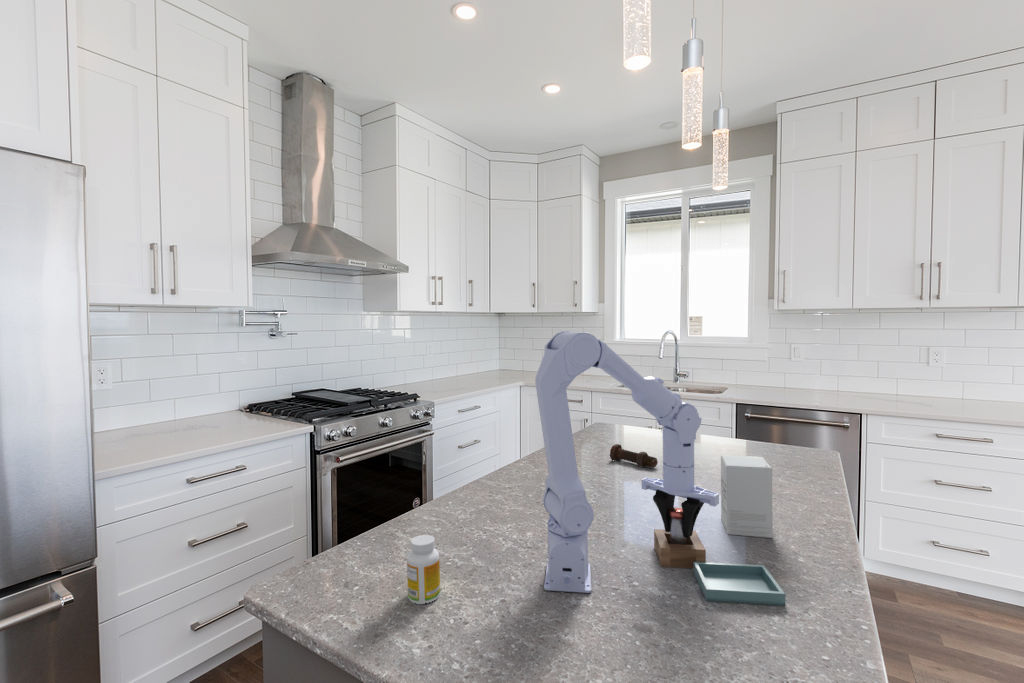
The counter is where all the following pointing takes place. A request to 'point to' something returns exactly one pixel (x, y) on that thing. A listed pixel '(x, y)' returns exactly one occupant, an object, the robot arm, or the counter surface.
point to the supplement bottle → (423, 570)
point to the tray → (738, 583)
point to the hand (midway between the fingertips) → (678, 533)
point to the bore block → (678, 550)
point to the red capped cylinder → (677, 526)
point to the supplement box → (746, 496)
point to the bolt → (632, 456)
